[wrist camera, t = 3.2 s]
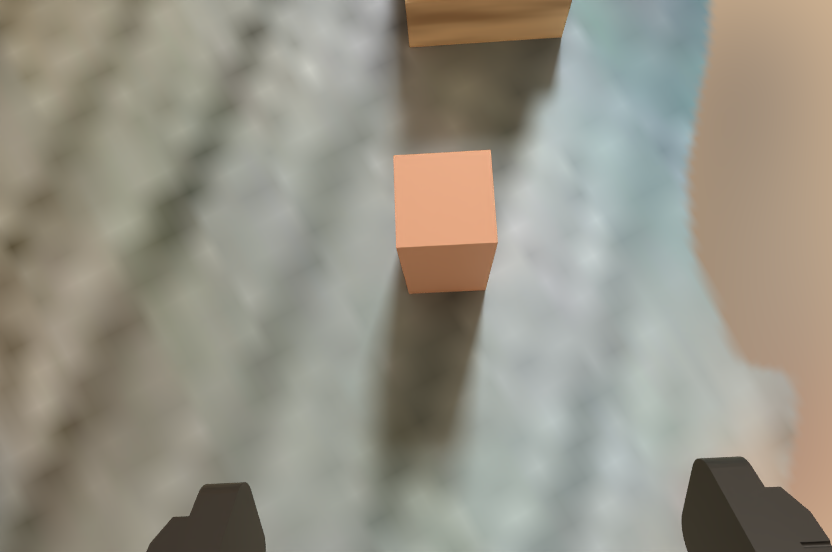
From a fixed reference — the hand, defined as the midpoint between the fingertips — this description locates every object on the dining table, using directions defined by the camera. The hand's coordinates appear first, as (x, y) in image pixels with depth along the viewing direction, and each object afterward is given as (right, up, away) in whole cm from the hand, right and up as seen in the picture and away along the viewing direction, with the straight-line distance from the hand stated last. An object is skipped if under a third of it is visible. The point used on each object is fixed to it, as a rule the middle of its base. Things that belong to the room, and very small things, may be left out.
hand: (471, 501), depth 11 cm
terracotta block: (+1, +5, +25) cm, 25 cm away
